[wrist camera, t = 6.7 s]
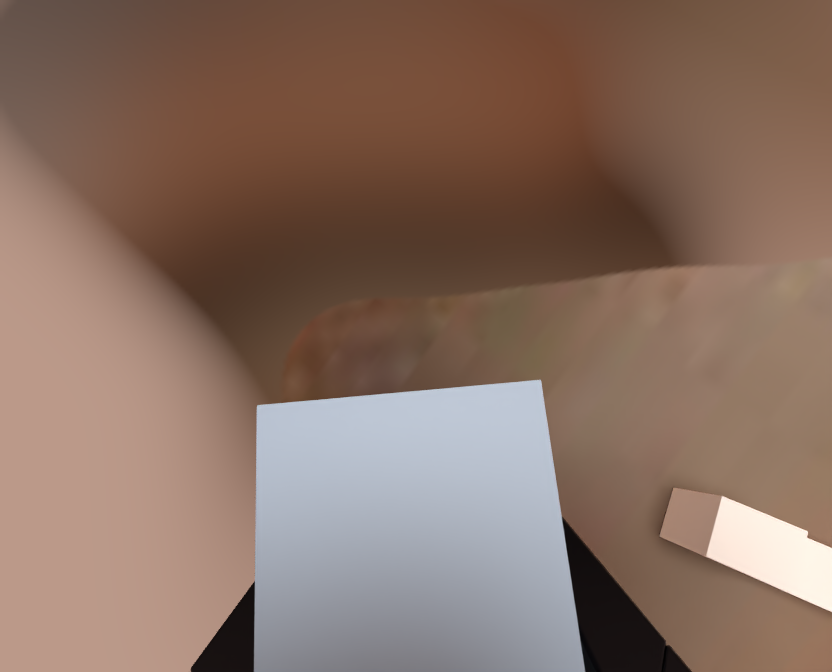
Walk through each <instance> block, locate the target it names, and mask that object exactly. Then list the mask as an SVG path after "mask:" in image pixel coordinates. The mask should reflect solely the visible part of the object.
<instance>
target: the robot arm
mask: <svg viewBox="0 0 832 672" xmlns="http://www.w3.org/2000/svg"><path fill="white" fill-rule="evenodd" d="M562 523H563V529H564V536H565V542H566V549H567V556H568V562H569V569H570V575H571V582H572V588H573V595H574V602H575V608H576V615H577V621H578V628H579V634H580V641H581V648H582V654H583V661H584V667H585V672H692V671H691V670H690V669H689V668H688V666H687V665H686V664H685V663H684V662H683V660H682V659H681V658H680V657H679V656H678V654H677V653H676V652H675V651H674V650H673V648H672V647H671V646H670V645H667V646H666V640H665V639H664V638H663V637H662V635H661V634H660V633H659V632H658V631H657V630H656V628H655V627H654V626H653V625H652V624H651V622H650V621H649V620H648V619H647V618H646V616H645V615H644V614H643V613H642V612H641V610H640V609H639V608H638V607H637V606H636V604H635V603H634V602H633V601H632V600H631V598H630V597H629V596H628V595H627V594H626V592H625V591H624V590H623V589H622V588H621V586H620V585H619V584H618V583H617V582H616V580H615V579H614V578H613V577H612V576H611V574H610V573H609V572H608V571H607V570H606V568H605V567H604V566H603V565H602V564H601V562H600V561H599V560H598V559H597V558H596V556H595V555H594V554H593V553H592V552H591V550H590V549H589V548H588V547H587V546H586V544H585V543H584V542H583V541H582V540H581V538H580V537H579V536H578V535H577V534H576V532H575V531H574V530H573V529H572V528H571V526H570V525H569V524H568V523H567V522H566V520H565V519H564V518H563V517H562ZM254 622H255V581H254V583H253V584H252V585H251V587H250V588H249V590H248V591H247V592H246V594H245V595H244V597H243V598H242V599H241V600H240V602H239V603H238V605H237V606H236V607H235V609H234V610H233V611H232V613H231V614H230V615H229V617H228V618H227V620H226V621H225V622H224V624H223V625H222V626H221V628H220V629H219V630H218V632H217V633H216V635H215V636H214V637H213V639H212V640H211V641H210V643H209V644H208V646H207V647H206V648H205V650H204V651H203V652H202V654H201V655H200V656H199V658H198V659H197V661H196V662H195V663H194V665H193V666H192V667H191V672H254Z"/></svg>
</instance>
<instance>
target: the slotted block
mask: <svg viewBox="0 0 832 672" xmlns="http://www.w3.org/2000/svg"><path fill="white" fill-rule="evenodd" d="M255 538H256V540H255V622H254V672H585V667H584V661H583V654H582V648H581V641H580V634H579V628H578V621H577V615H576V608H575V602H574V595H573V588H572V582H571V575H570V569H569V562H568V556H567V549H566V542H565V536H564V529H563V523H562V516H561V510H560V503H559V496H558V490H557V483H556V477H555V470H554V464H553V457H552V450H551V444H550V437H549V431H548V424H547V418H546V411H545V404H544V398H543V391H542V385H541V380H534V381H523V382H512V383H501V384H490V385H479V386H467V387H456V388H445V389H434V390H423V391H412V392H401V393H389V394H378V395H367V396H356V397H345V398H334V399H323V400H312V401H300V402H289V403H278V404H268V405H257V451H256V536H255Z"/></svg>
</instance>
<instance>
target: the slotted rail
mask: <svg viewBox="0 0 832 672" xmlns="http://www.w3.org/2000/svg"><path fill="white" fill-rule="evenodd" d="M807 534H808V531H805V530H803V529H801V528H798V527H796V526H793V525H791V524H788V523H786V522H784V521H781V520H779V519H776V518H774V517H772V516H769V515H767V514H764V513H762V512H759V511H757V510H755V509H752V508H750V507H747V506H745V505H743V504H740V503H738V502H735V501H733V500H730V499H728V498H726V497H723V496H719V495H713V494H707V493H702V492H696V491H690V490H685V489H679V488H673V491H672V494H671V498H670V501H669V505H668V508H667V511H666V515H665V518H664V522H663V525H662V529H661V532H660V535H659V537H661V538H664V539H666V540H668V541H670V542H673V543H675V544H677V545H680V546H682V547H684V548H686V549H689V550H691V551H693V552H696V553H698V554H700V555H702V556H705V557H707V558H709V559H712V560H714V561H716V562H718V563H721V564H723V565H725V566H728V567H730V568H732V569H734V570H737V571H739V572H741V573H743V574H746V575H748V576H750V577H753V578H755V579H757V580H759V581H762V582H764V583H766V584H769V585H771V586H773V587H775V588H778V589H780V590H782V591H785V592H787V593H789V594H791V595H794V596H796V597H798V598H801V599H803V600H805V601H807V602H810V603H812V604H814V605H816V606H819V607H821V608H823V609H826V610H828V611H830V612H832V548H830V547H828V546H825V545H823V544H821V543H818V542H816V541H813V540H811V539H809V538H807Z"/></svg>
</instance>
